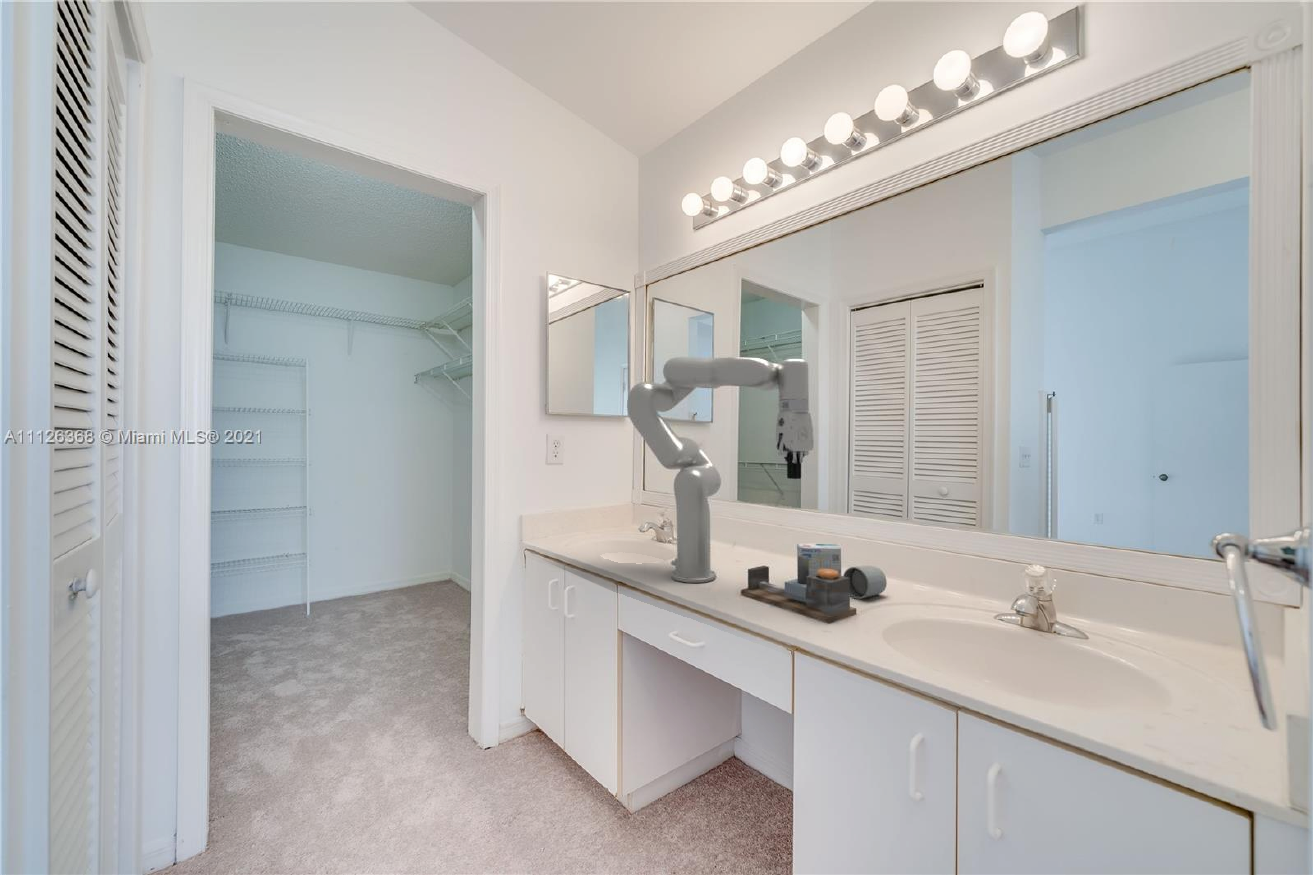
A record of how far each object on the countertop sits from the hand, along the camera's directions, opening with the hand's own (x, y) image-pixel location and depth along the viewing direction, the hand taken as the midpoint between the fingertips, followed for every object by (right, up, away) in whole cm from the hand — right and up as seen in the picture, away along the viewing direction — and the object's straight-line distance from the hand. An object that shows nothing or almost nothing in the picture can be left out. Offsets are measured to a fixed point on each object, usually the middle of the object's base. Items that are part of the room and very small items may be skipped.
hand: (794, 478), depth 131 cm
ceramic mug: (+16, -29, -3) cm, 33 cm away
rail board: (-2, -29, -10) cm, 31 cm away
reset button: (+3, -24, -17) cm, 30 cm away
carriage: (-1, -27, -12) cm, 30 cm away
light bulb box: (+8, -29, +6) cm, 31 cm away
